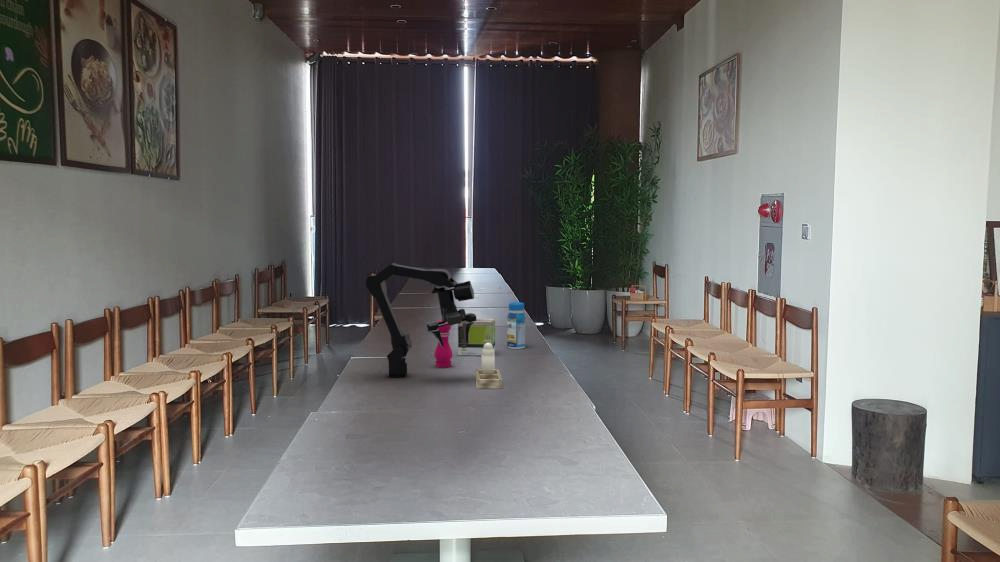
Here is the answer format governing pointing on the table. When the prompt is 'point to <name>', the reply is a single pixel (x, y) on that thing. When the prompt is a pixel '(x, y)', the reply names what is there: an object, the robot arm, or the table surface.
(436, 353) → the pepper mill
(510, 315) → the beverage bottle
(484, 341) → the tea box
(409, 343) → the robot arm
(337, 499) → the table surface
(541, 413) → the table surface
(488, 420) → the table surface
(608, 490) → the table surface
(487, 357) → the white pawn figure
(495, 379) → the divided wooden tray
